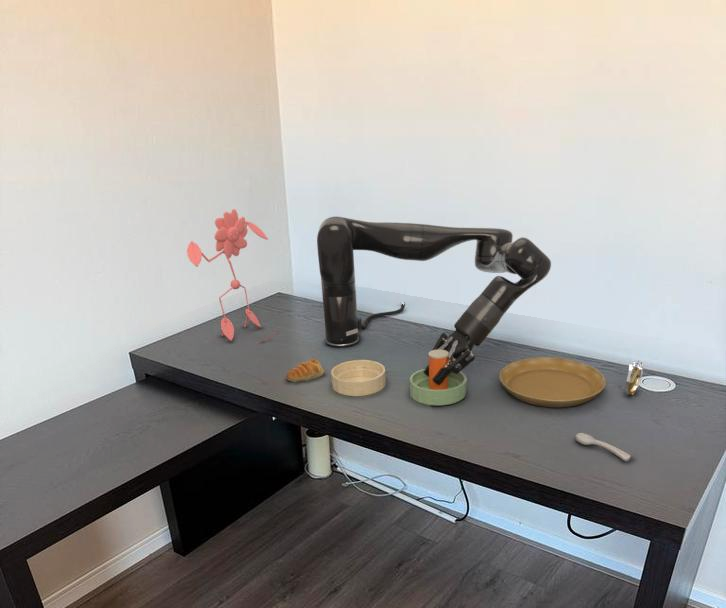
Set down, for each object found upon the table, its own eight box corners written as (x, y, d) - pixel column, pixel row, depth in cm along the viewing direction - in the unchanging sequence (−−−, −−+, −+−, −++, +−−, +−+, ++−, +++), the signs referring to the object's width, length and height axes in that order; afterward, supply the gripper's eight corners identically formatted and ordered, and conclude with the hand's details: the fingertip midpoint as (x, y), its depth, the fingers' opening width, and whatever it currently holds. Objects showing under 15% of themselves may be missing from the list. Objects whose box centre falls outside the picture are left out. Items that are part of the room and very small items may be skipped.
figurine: (198, 344, 198) (173, 218, 179) (262, 318, 214) (246, 200, 195) (233, 355, 189) (211, 224, 170) (297, 327, 205) (284, 204, 186)
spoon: (579, 436, 142) (581, 428, 141) (631, 460, 135) (633, 452, 133) (571, 441, 140) (573, 433, 139) (623, 466, 133) (625, 458, 132)
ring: (631, 401, 154) (637, 368, 150) (617, 397, 156) (623, 365, 152) (644, 390, 158) (650, 358, 154) (631, 387, 160) (637, 355, 156)
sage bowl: (418, 380, 169) (418, 364, 167) (471, 386, 165) (471, 370, 163) (403, 403, 159) (402, 387, 157) (458, 410, 155) (459, 393, 153)
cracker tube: (431, 387, 164) (431, 348, 159) (450, 389, 163) (450, 350, 157) (426, 396, 161) (426, 356, 155) (445, 398, 159) (445, 357, 154)
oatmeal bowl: (343, 373, 176) (342, 357, 173) (392, 378, 171) (392, 362, 169) (324, 394, 165) (322, 378, 163) (375, 400, 161) (374, 384, 159)
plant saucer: (622, 385, 161) (624, 372, 159) (571, 423, 147) (573, 409, 145) (532, 361, 176) (533, 349, 174) (478, 394, 161) (479, 381, 159)
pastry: (296, 387, 170) (294, 372, 168) (281, 379, 174) (279, 365, 172) (326, 376, 174) (325, 361, 172) (311, 368, 179) (310, 355, 177)
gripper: (504, 339, 152) (454, 399, 156) (474, 320, 164) (428, 375, 167) (484, 320, 148) (433, 382, 151) (454, 301, 159) (407, 359, 163)
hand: (430, 378), depth 159 cm, fingers closed on cracker tube, 4 cm apart
